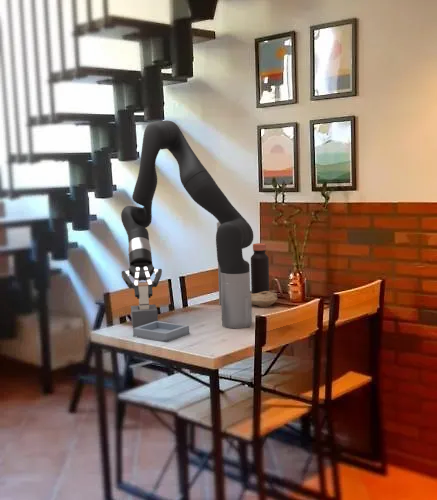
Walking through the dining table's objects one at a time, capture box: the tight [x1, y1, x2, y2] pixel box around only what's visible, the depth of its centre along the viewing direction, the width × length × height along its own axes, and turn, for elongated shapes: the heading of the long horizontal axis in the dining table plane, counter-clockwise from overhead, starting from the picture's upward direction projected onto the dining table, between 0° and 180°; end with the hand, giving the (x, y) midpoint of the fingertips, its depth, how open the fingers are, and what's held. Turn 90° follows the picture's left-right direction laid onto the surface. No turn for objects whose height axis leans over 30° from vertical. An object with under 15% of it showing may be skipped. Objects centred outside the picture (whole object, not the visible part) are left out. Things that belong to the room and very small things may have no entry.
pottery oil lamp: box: [250, 290, 278, 308], centre depth 247 cm, size 9×12×7 cm
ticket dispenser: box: [130, 304, 159, 329], centre depth 224 cm, size 8×9×6 cm
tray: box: [132, 320, 190, 343], centre depth 211 cm, size 13×11×2 cm
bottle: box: [250, 242, 270, 294], centre depth 263 cm, size 7×7×20 cm
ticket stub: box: [138, 281, 150, 310], centre depth 223 cm, size 3×4×9 cm
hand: (144, 296), depth 221 cm, fingers closed on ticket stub, 3 cm apart
